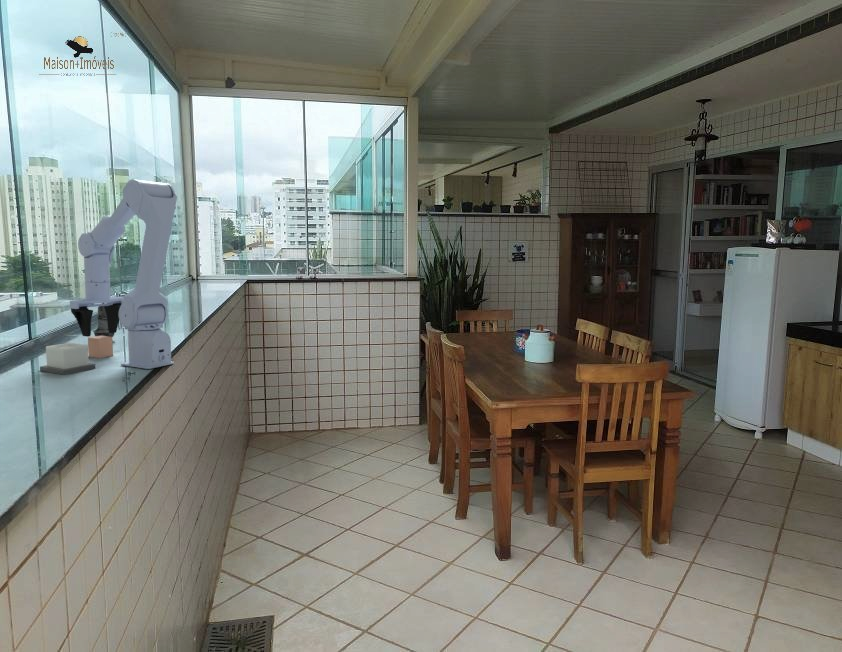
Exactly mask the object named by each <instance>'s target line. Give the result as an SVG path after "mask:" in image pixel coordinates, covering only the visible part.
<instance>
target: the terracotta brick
mask: <svg viewBox="0 0 842 652" xmlns="http://www.w3.org/2000/svg"><path fill="white" fill-rule="evenodd" d="M112 340H113V337H109V336H95V335H94V336H89V337H87V345H88V358H89V357H90V358H97V359H103V358H107V356H108V357H113V356H114V345H113V344H114V343H113V341H114V340H113V341H112Z"/></svg>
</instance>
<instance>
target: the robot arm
mask: <svg viewBox="0 0 842 652" xmlns="http://www.w3.org/2000/svg"><path fill="white" fill-rule="evenodd" d="M177 201H178V196H177V194H176V191H175V189H174V187H173V186H172V185H171V183H168V182H155V181H148V180H139V179H135V178H133V179H129V180H128V181H127V182H126V184H125V185H124V186H123V188H122V199H121V200H120V202H118V205H117V206H116V207H115V209H114V211H113V212H112V214H111V215H109V214H108V215H104V216H102V217H101V220H100V221H99V222H98V223H97V224H96V225H95V227H94V228H93V229H92V230H91V231H88V232H85V233H81V234H80V236H79V238H78V242H77V247H78V252H79V253H80V254H79V255H81V256H82V257H83V266H84V267H83V269H84V270H83V271H84V287H85V288H84V289H85V290H84V291H85V298H81V299H74V300H69V309H70V312H71V314H72V315H73V317H74V318H75V319H76V321H77V324H78V326H79V328H80V331H81V332H80V333H81V335H82V337H87V338H88V337H92V336H91V334H92V317H93V313H94V310H93V309H89V308H92V307H93V308H94V307H95V308H97V307H99V306H104V308H105V311H106V315H107V321H108V331H109V332H112V333H115V334H116V333H117V331H118V327H119V323H120V324H121V325H122V326H123V327H124V330H127V343H128V361H125V362H120V366H126V367H132V368H138V369H146V370H151V369H155V368H161V367H163V366H164V367H165V366H169V365H173V364H175V361H172V339H171V337H170V335H169V333H167V332H166V331H165V330H162V329H163V328H164V324H165V323H167V322H166V321H167V320H168V314H169V313H168V301H169V300H168V298H167V297H166V296H165V295H164V294H163V293H162V292H160V289H161V285H162V279H163V274H164V269H165V265H166V264H165V263H166V260H167V259H166V258H167V254H168V247H169V243H170V239H171V238H170V237H171V233H172V228H173V227H172V226H173V221H174V216H175V210H176V206H177ZM135 215H136V217H138V219H140V220H142V221H143V222H144V223H145V230H144V235H143V240H142V241H143V242H142V245H141V246H142V247H141V253H140V258H139V262H138V263H139V264H138V269H137V274H136V275H137V276H136V281H135V287H134V288H133V289H131V290H130V291H129V292H127V293H126V294H125V295H124V296H112V295H111V292H112V291H111V273H110V269H111V266H110V264H111V263H112V261H113V260H112V258H113V254H114V251H115V244H116V243H117V241H119V239H120V238H121V237H122V236H123V235H124V234H125V232H126V226H125V225H126V224H127V223H128V222H129V221H131V219H133V217H134V216H135ZM102 303H104V304H102Z"/></svg>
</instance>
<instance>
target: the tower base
mask: <svg viewBox="0 0 842 652" xmlns="http://www.w3.org/2000/svg"><path fill="white" fill-rule="evenodd" d="M45 356H46V359H45V360H46V365H45V364H44V365H40V366H39V372H46V373H51V374H57V375H62V376H63V375H64V376H65V375H70V374H74V373H79V372H84V371H90V370H95V369H96V367H97V366H96V364H95V363H90V362H89V352H88V344H81V343H75V342H74V343H73V342H65V343H61V344H60V343H59V344H53V345H47V346H45Z"/></svg>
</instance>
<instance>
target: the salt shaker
mask: <svg viewBox="0 0 842 652" xmlns="http://www.w3.org/2000/svg"><path fill="white" fill-rule="evenodd" d="M101 304H105V303H101ZM96 319H97V328H96V329H95V330H92V332H93V334H94V337H95V336H109V337H112V338H114V336H115V334H116V333H112V332H109V331H108V321H107V315H106V311H105V308H104V306H97V317H96ZM112 341H113V344H115V343H116V342H115V341H114V340H113V339H112Z"/></svg>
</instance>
